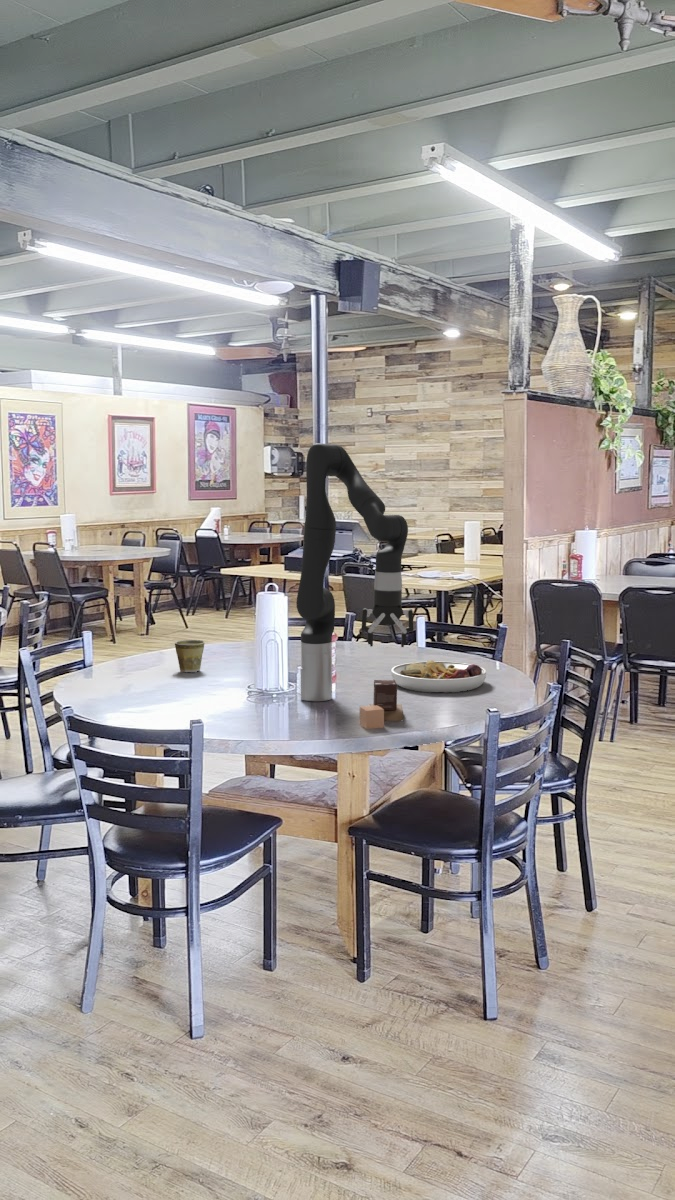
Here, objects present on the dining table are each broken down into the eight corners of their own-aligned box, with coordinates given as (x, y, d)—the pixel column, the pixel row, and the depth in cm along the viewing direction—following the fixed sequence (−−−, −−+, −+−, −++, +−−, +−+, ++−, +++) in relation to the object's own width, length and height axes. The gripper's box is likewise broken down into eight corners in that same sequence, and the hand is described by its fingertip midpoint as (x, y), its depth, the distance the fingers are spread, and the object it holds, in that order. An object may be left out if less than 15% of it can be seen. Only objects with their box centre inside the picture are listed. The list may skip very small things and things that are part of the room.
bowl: (375, 689, 315) (375, 664, 314) (414, 673, 341) (414, 650, 340) (465, 699, 301) (466, 673, 300) (499, 681, 327) (499, 657, 326)
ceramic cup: (202, 674, 339) (202, 644, 338) (173, 674, 339) (172, 644, 338) (208, 666, 352) (207, 638, 350) (179, 666, 352) (179, 638, 351)
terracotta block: (366, 729, 265) (366, 710, 264) (359, 725, 269) (359, 706, 269) (383, 727, 266) (383, 709, 265) (377, 723, 271) (377, 705, 270)
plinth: (370, 723, 273) (370, 712, 273) (369, 715, 282) (369, 704, 282) (403, 723, 273) (403, 712, 273) (401, 715, 282) (401, 704, 282)
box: (394, 705, 280) (395, 679, 279) (396, 710, 274) (397, 684, 273) (373, 705, 280) (373, 679, 279) (374, 710, 274) (375, 684, 273)
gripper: (361, 589, 272) (361, 648, 274) (414, 590, 272) (413, 649, 274) (362, 586, 280) (361, 643, 282) (413, 586, 279) (412, 644, 281)
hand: (387, 646), depth 278 cm, fingers open, 8 cm apart
